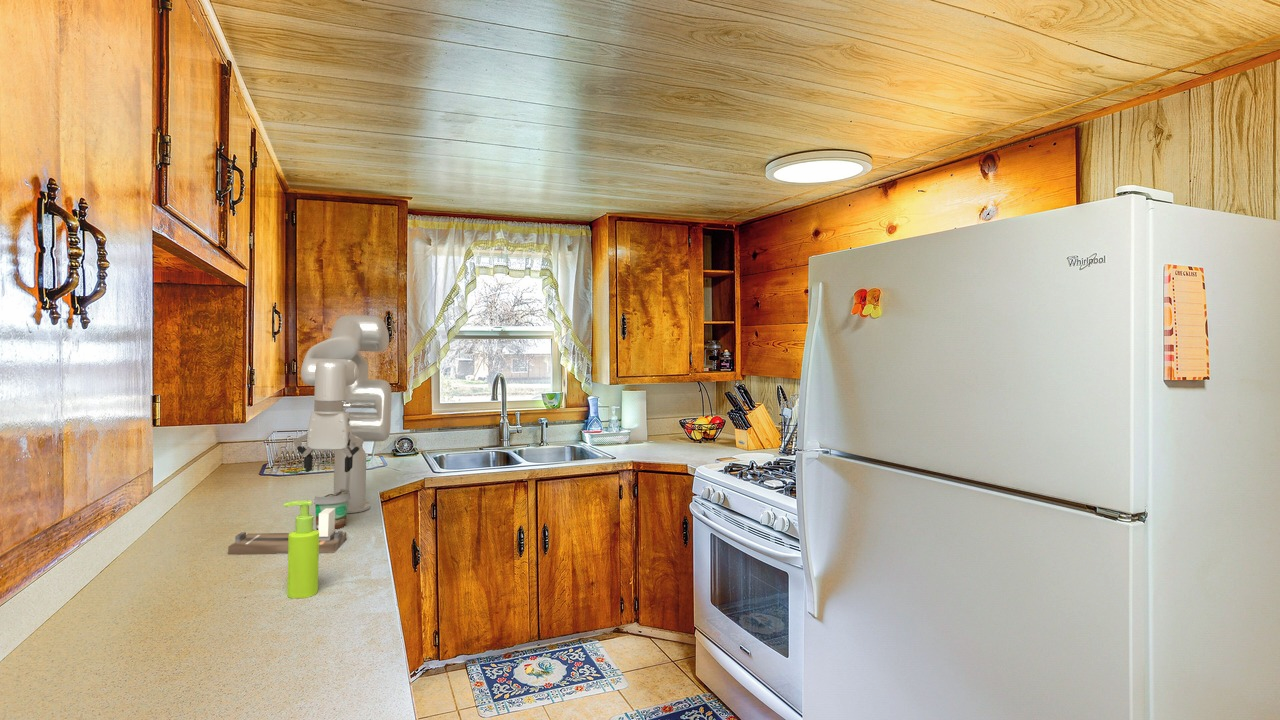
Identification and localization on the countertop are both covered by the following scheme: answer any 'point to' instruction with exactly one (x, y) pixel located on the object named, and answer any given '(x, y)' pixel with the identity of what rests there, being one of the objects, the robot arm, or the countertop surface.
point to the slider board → (277, 543)
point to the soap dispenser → (303, 554)
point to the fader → (326, 524)
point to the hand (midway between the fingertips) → (328, 471)
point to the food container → (334, 506)
